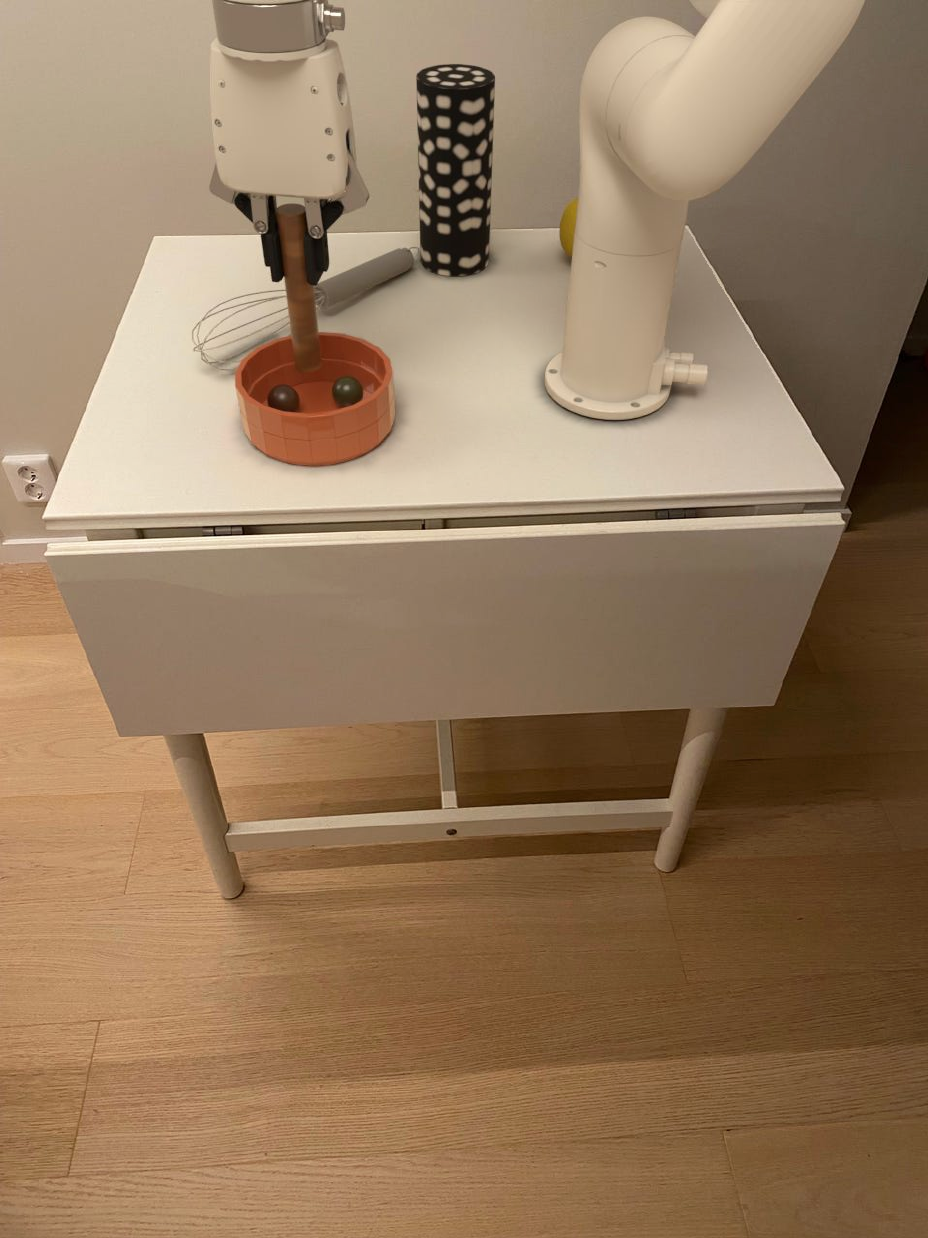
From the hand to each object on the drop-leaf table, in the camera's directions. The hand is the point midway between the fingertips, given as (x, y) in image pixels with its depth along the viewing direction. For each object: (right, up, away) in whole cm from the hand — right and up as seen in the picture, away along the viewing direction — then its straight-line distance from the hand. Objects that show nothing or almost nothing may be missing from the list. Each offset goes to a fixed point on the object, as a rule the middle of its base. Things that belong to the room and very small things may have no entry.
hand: (298, 274), depth 77 cm
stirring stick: (0, -6, +6) cm, 9 cm away
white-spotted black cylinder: (+13, +14, +34) cm, 40 cm away
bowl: (0, -10, +11) cm, 15 cm away
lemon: (+28, +14, +35) cm, 47 cm away
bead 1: (-3, -8, +10) cm, 13 cm away
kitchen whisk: (-3, +4, +25) cm, 25 cm away
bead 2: (+3, -7, +11) cm, 13 cm away
